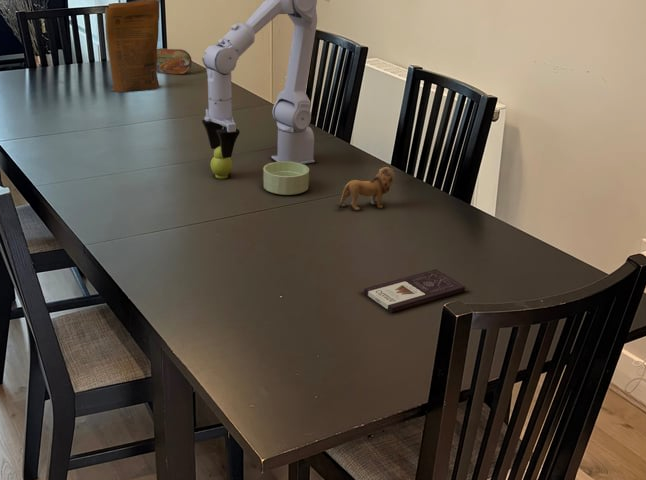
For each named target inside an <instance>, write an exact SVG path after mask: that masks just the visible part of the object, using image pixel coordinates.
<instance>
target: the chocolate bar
mask: <svg viewBox="0 0 646 480" xmlns="http://www.w3.org/2000/svg"><path fill="white" fill-rule="evenodd" d="M465 291H466V286H465V285H463V284H461V283H460V282H458V281H456V280H454V279H453V278H451V277H450V276H448V275H446V274H445V273H443V272H441V271H439V270H438V269H431V270H428V271H424V272H420V273H417V274H412V275H410V276H405V277H402V278H398V279H395V280H391V281H387V282H384V283H379V284H376V285H372V286H369V287H365V288H364V289H363V294H365V295H366V296H368V297H369V298H371V299H372V300H373V301H375V302H376V303H378V304H379V305H381V306H382V307H383V308H385V309H386V310H388V311H389V312H390V313H395V312H399V311H402V310H406V309H409V308H412V307H416V306H419V305H423V304H425V303H430V302H433V301H436V300H439V299H443V298H447V297H450V296H453V295H456V294H461V293H464V292H465Z"/></svg>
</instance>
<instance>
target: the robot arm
mask: <svg viewBox="0 0 646 480" xmlns="http://www.w3.org/2000/svg"><path fill="white" fill-rule="evenodd" d="M317 3H318V0H264V1H263V2H262V3H261V4H260V6H258V8H257V9H255V11H254V12H253V13H252V14H251V16H249V18H248V19H247V20H246V21H245V22H237V23H236V24H235V23H234V24H232V25H231V26H230V30H229V31H228V32H227V33H226V34H224V36H223V37H222V38H219V39H218V40H217V43H216V44H211V45H209V46H208V47H207V48H206V50H205V51H204V54H203V56H202V57H201V61H202V63H203V66H204V67H205V68H206V75H207V95H208V96H207V98H208V99H207V101H208V108H205V116H204V117H203V118H204V119H202V120H201V123H202V125H203V127H204V129H205V131H206V135H207V138H208V143H209V146H210V149H212V150H215V149H216V148H217V147H219V146H220V144H221V152H222V156H223V158H232V156H233V152H234V147H235V143H236V141H237V138H238V137H239V135H240V134H241V133H240V129H238V128H237V123H235V120H234V116H233V114H232V113H233V98H232V97H233V96H232V95H233V94H232V89H233V87H232V72H233V71H235V69H236V66H237V62H238V60H240V57H241V56H242V55H243V54H244V53H245V52H246V51H247V50H248V49H249V48H250V47H251V46H252V45H253V44H254V43H255V38H256V34H258V33H259V32H260V31H261V30H262V29H263V28H264V27H265V26H266V25H268V24H269V23H270V22H271V21H273V20H274V19H275V18H276V17H277V16H279V15H287V16H288V17H289V19H290V20H291V21H292V23H293V25H294V26H293V32H292V33H293V34H292V38H291V46H290V51H289V59H288V63H287V64H288V65H287V71H286V76H285V77H286V78H285V82H284V83H285V84H284V88H283V89H282V90H281V91H280V92H279V93H278V94H277V98H276V101H275V103H274V105H273V107H272V110H271V111H272V118H273V120H274V121H275V122H276V126H277V153H276V155H271V159H272V160H274V162H280V161H289V162H297V163H301V164H304V165H307V164H313V163H316V161H315V159H314V154H315V134H314V131H313V129H312V128H311V127H310V124H311V121H312V113H311V104H312V102H311V100H310V99H309V97H308V95H307V93H306V92H307V91H306V90H307V85H308V80H309V79H308V78H309V74H310V66H311V62H312V61H311V60H312V56H313V48H314V45H315V44H314V43H315V38H316V32H317V26H318V14H317V5H318V4H317Z"/></svg>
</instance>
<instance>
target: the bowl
mask: <svg viewBox="0 0 646 480" xmlns="http://www.w3.org/2000/svg"><path fill="white" fill-rule="evenodd" d="M310 172H311V171H310V168H309V166H307V164H301V163H297V162H289V161H280V162H277V161H273V162H268V163H267V164H265V165H264V166H263V167H262V187H263V189H264V190H266V191H267V192H270V193H272V194H276V195H280V196H293V195H299V194H302V193H304V192H306V191H308V190H309V188H310Z"/></svg>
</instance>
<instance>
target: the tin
mask: <svg viewBox="0 0 646 480" xmlns="http://www.w3.org/2000/svg"><path fill="white" fill-rule="evenodd" d="M192 63H193V61H192V56H191V55H190V53H189V52H188V51H187V50H184V49H181V48H180V49H179V48H164V47H163V48H162V47H161V48H157V73H158V74H167V75H169V74H170V75H185V74H187V73H188V71H190V69H192Z"/></svg>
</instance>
